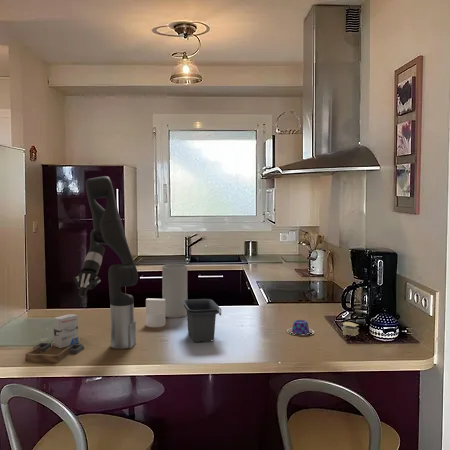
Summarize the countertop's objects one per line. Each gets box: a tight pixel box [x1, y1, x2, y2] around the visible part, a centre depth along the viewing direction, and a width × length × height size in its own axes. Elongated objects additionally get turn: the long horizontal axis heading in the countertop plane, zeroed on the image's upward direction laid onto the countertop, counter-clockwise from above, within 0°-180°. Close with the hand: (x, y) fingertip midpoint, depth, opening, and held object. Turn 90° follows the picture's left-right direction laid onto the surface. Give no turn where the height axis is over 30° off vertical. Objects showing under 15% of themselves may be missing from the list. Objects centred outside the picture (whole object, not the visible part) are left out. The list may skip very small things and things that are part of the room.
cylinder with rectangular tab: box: [145, 297, 166, 328], centre depth 225 cm, size 9×9×12 cm
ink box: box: [52, 313, 79, 349], centre depth 195 cm, size 8×5×12 cm, turn 141°
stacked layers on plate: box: [341, 321, 360, 336], centre depth 209 cm, size 10×9×6 cm
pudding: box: [286, 319, 315, 336], centre depth 214 cm, size 12×12×5 cm
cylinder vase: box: [161, 263, 188, 319], centre depth 242 cm, size 12×12×25 cm
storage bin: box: [183, 298, 222, 343], centre depth 207 cm, size 21×16×14 cm
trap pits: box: [32, 342, 85, 354], centre depth 189 cm, size 18×6×2 cm, turn 83°
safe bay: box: [24, 346, 71, 363], centre depth 181 cm, size 13×9×2 cm
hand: (81, 296), depth 209 cm, fingers closed
